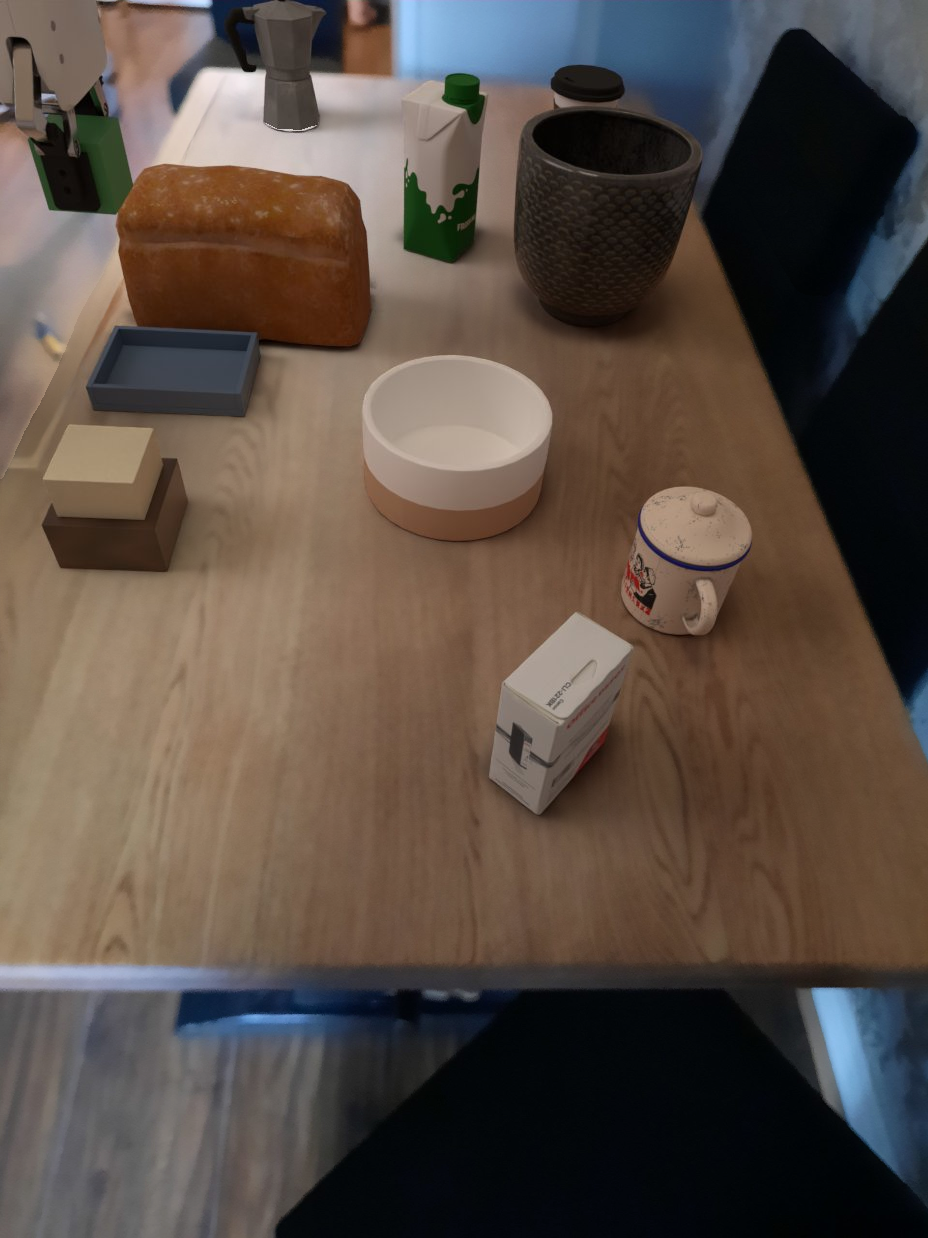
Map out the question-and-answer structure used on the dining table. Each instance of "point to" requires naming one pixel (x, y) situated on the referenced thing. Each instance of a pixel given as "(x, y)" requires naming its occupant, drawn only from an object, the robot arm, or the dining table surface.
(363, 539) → the dining table surface
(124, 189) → the green block
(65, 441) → the cream block
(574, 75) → the coffee cup
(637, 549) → the teacup with lid
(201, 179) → the bread
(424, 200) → the milk carton
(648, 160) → the planter
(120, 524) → the walnut block
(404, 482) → the bowl
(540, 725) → the ink box
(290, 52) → the coffeepot
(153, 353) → the tray
